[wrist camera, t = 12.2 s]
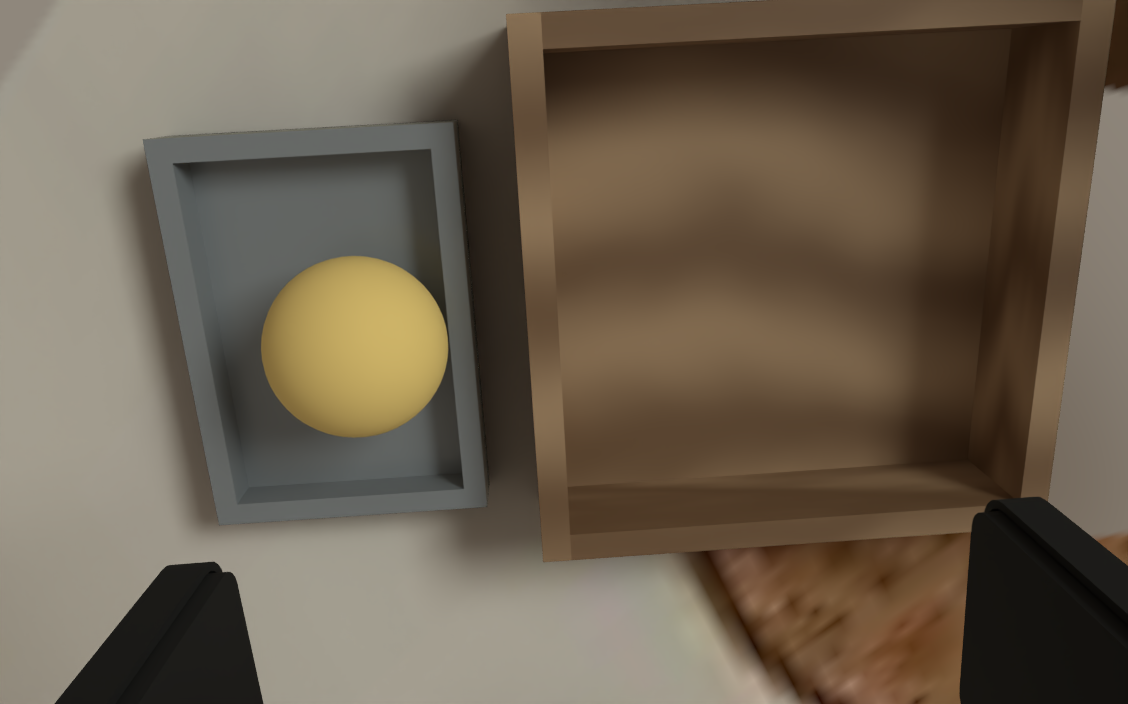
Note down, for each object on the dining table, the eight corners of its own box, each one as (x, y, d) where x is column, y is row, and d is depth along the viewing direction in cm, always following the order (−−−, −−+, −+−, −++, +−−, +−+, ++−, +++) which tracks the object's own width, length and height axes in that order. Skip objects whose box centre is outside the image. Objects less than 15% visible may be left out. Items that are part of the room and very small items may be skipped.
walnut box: (979, 471, 34) (1044, 526, 30) (540, 501, 34) (543, 562, 30) (1030, -3, 29) (1118, -18, 25) (508, 24, 28) (505, 13, 24)
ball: (424, 388, 33) (482, 439, 27) (263, 422, 30) (294, 485, 25) (407, 235, 31) (466, 258, 26) (235, 256, 28) (262, 287, 23)
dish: (489, 482, 34) (487, 506, 32) (236, 500, 33) (219, 525, 31) (457, 119, 29) (453, 122, 27) (167, 136, 29) (142, 139, 27)
